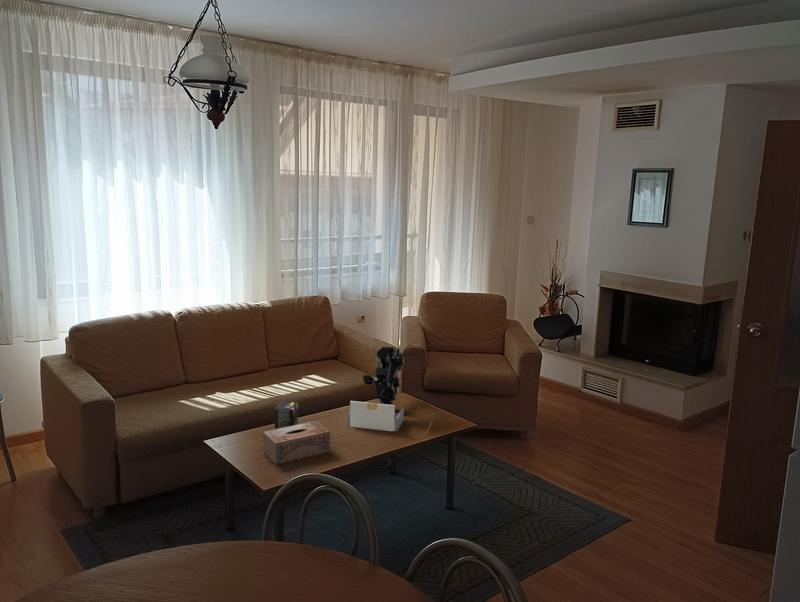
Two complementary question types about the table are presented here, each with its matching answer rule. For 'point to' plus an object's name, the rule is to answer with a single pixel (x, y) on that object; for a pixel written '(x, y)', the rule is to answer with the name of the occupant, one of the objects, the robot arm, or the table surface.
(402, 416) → the carton
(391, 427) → the flap
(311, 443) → the tissue box cover
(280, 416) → the tampon box
